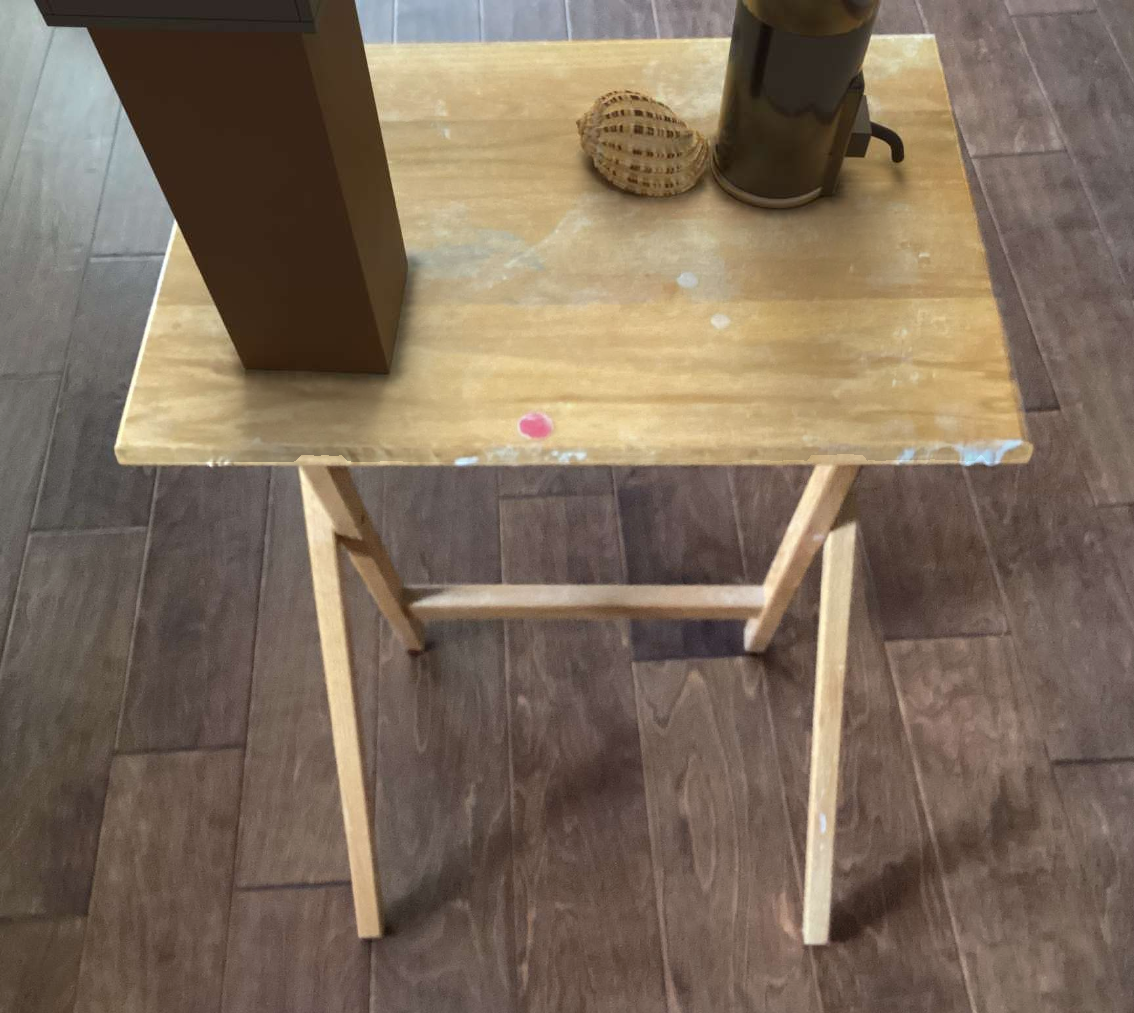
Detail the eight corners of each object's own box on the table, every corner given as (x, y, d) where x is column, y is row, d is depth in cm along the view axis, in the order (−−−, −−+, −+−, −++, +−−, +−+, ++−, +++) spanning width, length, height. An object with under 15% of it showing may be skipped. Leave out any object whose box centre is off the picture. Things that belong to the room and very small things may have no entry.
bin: (425, 254, 72) (336, -245, 45) (403, 387, 66) (285, -96, 39) (261, 248, 73) (73, -250, 45) (224, 381, 66) (-19, -103, 39)
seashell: (668, 154, 82) (560, 123, 77) (706, 95, 77) (593, 58, 73) (689, 220, 78) (576, 192, 73) (730, 162, 73) (613, 127, 69)
